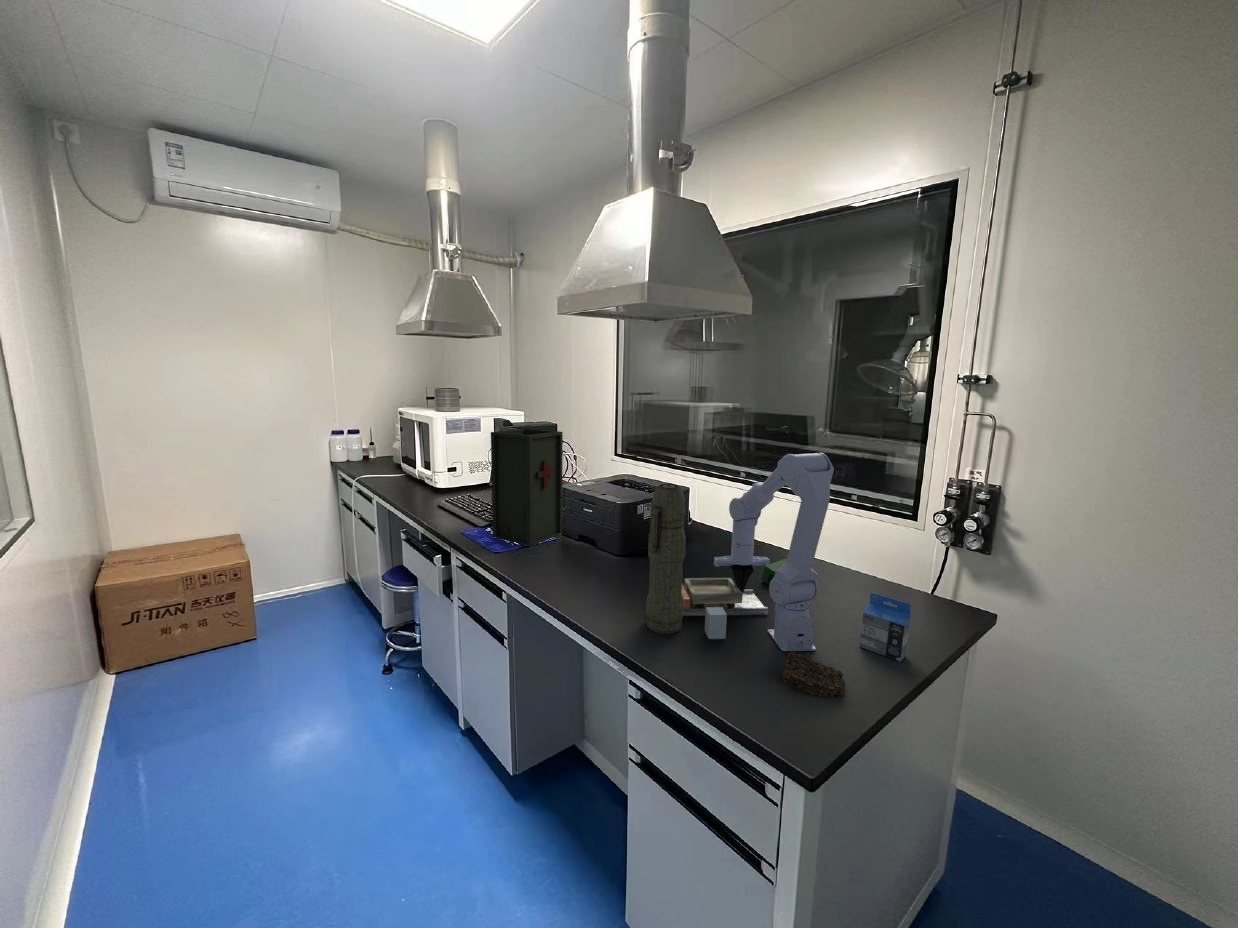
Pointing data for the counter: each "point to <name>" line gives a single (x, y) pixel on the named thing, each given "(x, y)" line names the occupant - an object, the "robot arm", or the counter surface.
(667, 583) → the thermos
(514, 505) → the first aid box
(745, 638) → the counter surface
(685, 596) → the rail
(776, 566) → the clamp
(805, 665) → the brown porous oval lump
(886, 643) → the label tape box
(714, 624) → the block
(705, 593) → the shallow open tray
